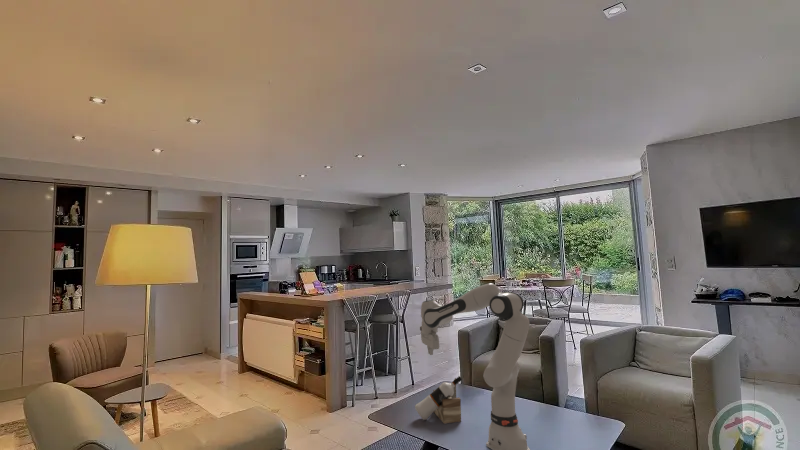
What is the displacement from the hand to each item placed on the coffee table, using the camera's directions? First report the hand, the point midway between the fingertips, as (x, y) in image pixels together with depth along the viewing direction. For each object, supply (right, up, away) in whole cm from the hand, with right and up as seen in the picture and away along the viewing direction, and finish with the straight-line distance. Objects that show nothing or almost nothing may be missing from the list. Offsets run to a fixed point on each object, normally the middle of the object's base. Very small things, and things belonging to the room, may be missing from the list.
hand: (430, 354), depth 213 cm
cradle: (+9, -35, +1) cm, 36 cm away
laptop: (+10, -37, +21) cm, 44 cm away
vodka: (-7, -32, -4) cm, 32 cm away
